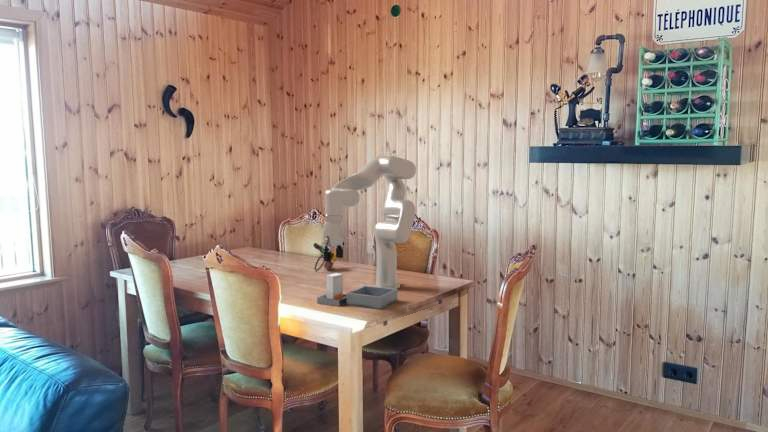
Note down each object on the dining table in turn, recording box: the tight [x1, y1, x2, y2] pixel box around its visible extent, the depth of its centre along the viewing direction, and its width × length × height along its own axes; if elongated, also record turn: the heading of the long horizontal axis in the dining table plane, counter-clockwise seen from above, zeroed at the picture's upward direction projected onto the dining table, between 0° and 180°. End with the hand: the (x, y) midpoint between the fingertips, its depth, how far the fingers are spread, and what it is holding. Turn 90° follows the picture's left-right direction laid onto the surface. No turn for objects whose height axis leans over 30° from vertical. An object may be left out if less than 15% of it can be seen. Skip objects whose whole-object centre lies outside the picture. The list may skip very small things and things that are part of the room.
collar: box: [316, 293, 347, 307], centre depth 265 cm, size 11×11×2 cm
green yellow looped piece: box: [313, 242, 339, 272], centre depth 331 cm, size 14×14×15 cm
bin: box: [346, 285, 398, 310], centre depth 263 cm, size 16×16×5 cm
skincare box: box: [325, 272, 344, 299], centre depth 264 cm, size 6×4×12 cm
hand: (333, 259), depth 262 cm, fingers open, 9 cm apart
